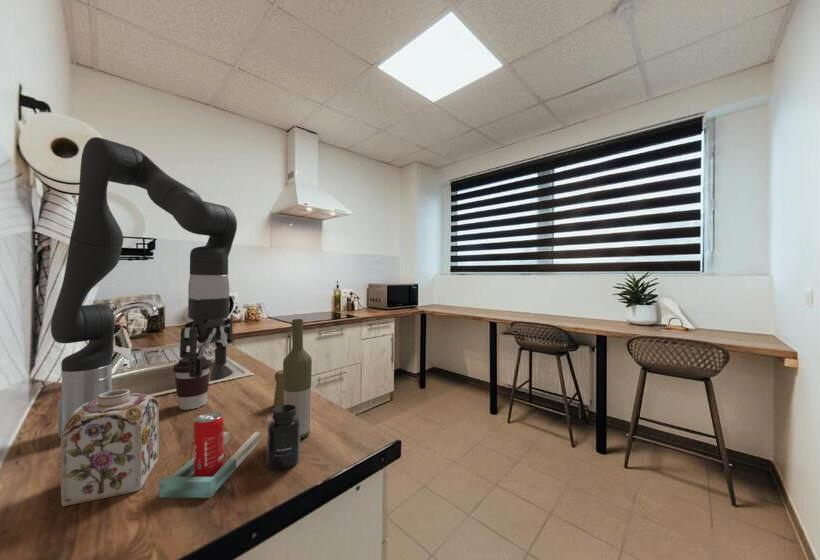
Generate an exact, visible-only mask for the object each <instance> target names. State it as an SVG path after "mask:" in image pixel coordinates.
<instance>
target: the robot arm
mask: <svg viewBox="0 0 820 560" xmlns="http://www.w3.org/2000/svg"><path fill="white" fill-rule="evenodd" d="M109 182H111V183H115V184H121V185H127V186H135V187H138V188H141V189H143V190H146V191H147V196H148V197H149V199H150V200H151V202H153V204H154V205H156V206H158V207H159V208H160V209H162V210H164V212H165V213H168V214H170V215H171V216H172V217H173V219H174V220H175V221H176V222H177V224H178V225H179V226H180V227H181V228H182V229H184V230H185V231H187V232H189V233H190V234H191V233H192V234H194V235H199V236H207V237H209V238H208V239H207V242H206V244H205V245H203V246H197V247H194V248H192V249H191V251H190V253H189V279H188V284H187V285H188V286H187V287H188V289H187V292H188V293H187V294H188V295H187V298H188V299H187V302H188V306H187V312H188V313H187V317H188V318H189V319H190V320H193V324H192V327H182V328H181V329H180V343H179V344H180V346H179V358H180V359H182V358H186V359H188V360H189V376H190V377H195V378H198V377H200V376H202V359H201V358H202V356H204V353H205V351H206V350H207V349H209V346H210V345H211V344H213V345H214V347H215V349H214V365H216V366H224V365H226V364H227V349H228V348H229V345H230V344H233V341H234V338H233V337H234V336H233V335H234V333H233V318H228V317H229V316H230V282H229V281H230V280H229V256H230V252H231V250H232V247H233V244H234V243H233V242H234V240H235V236H236V233H237V229H238V221H237V217H236V215H235V212H234V211H233V210H232V209H231V208H230V207H228V206H226V205H222V204H217V203H214V202H209V201H205V200H203V199H202V197H201V195H199V194H198V193H197V192H196V191H195V190H193V189H191V188H190V187H188V186H187V185H186V184H184V183H181V182H180V181H178V180H176V179H174V178H173V177H172V176H170V175H169V174H167V173H166V172H165V171H164V170H162V169H161V168H160V167H159V166H158V165H157V164H156V163H154V161H152V160H151V159H150V158H149V157H148V156H147V155H146V154H144V153H143V152H142V151H140V150H139V149H137V148H135V147H132V146H129V145H125V144H123V143H119V142H116V141H112V140H109V139H106V138H103V137H96V136H95V137H91V138H89V139H88V140H87V141H86V143H85V144H84V147H83V150H82V153H81V158H80V172H79V186H78V199H77V206H76V212H75V216H74V221H73V227H72V230H71V233H70V239H69V244H68V249H67V258H66V263H65V269H64V274H63V279H62V283H61V287H60V291H59V294H58V296H57V299H56V302H55V306H54V309H53V312H52V317H51V320H50V321H51V322H50V333H51V337H52V338H53V340H54V341H55V342H56V343H59V344H74V343H80V342H87V341H88V343H87V344H86V346H84V347H83V348H81V349H80V350H78V351H76V352H73V353H71V354H70V355H68V356H65V357H64V358H63V359H62V360H61V365H60V367H61V398H60V399H58V401H57V420H58V421H57V424H58V426H57V429H58V430H57V431H58V433H57V434H58V436H57V437H58V438H61V435H60V434H61V433H62V431H63V430H64V427H65V425H66V423H67V422H68V420H69V417H70V416H71V414H72V413H73V412H74V411H75V410H76V409H77V408H79V407H80V406H82V405H83V404H85V403H88V402H91V401H94V400H96V399H98V396H99V395H100V394H102V393H105V392H109V391H113V388H112V387H113V385H112V383H113V379H112V377H113V376H112V375H113V372H112V371H113V370H112V365H113V364H112V358H113V357H112V356H113V354H114V342H115V341H114V339H115V336H114V335H115V325H116V324H115V315H114V310H112V308H111V307H110V306H109V305H107V304H103V303H102V304H99V303H98V304H87V305H84V302H85V300H86V298H87V296H88V294H90V291H92V289H93V288H94V287H95V286H96V285H98V284H99V282H101V281H102V280H103V279H104V278H105V277H107V275H109V274H110V273H111V272H112V271H113V270H114V269H115V268H116V267H117V265H118V264H119V261H120V259H121V254H122V248H123V244H124V234H123V232H122V228H121V227H120V225H119V223H118V222H117V220H116V218H115V216H114V214H113V212H112V211H111V208H110V207H109V203H108V196H107V195H108V194H107V192H108V184H109ZM188 347H189V349H188ZM187 349H188V350H187Z"/></svg>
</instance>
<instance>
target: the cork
mask: <svg viewBox="0 0 820 560" xmlns="http://www.w3.org/2000/svg"><path fill="white" fill-rule="evenodd" d="M274 380H275V382H276V383H275V389H274V395H273V396H274V398H273V404H272V406H273V408H274V407H275V408H276V407H278V406H281V405H284V382H283V369H281V370H278V371H276V372H275V373H274Z"/></svg>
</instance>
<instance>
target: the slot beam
mask: <svg viewBox="0 0 820 560" xmlns="http://www.w3.org/2000/svg"><path fill="white" fill-rule="evenodd" d="M230 434H231V433H230V431H223V437H224V445H225V444H227V443H228V442H229V441H230V439H231V438H230ZM260 442H262V431H254V433H253V434H252V435H251V436H250V437H248V439H247V440H245V442H244V443H243V444H242V445H241V446H240V447H239V448H238V449H237V450H236V452H235V453H233V454H232V456H231V457H230V458H228V460H227V461H226V462H224V465H223V466H222V467H221V468H220V469H219V470H218V471H217V473H216V474H215V475H214V476H213V477H197V476H192V475H193V474H195V473H194V457H192V459H190V460H189V461H187V463H185V465H183V466H182V467H180V468H179V470H177V471H176V472H175V473H174V474H173V475H172V476H165V477H163V478H162V479H161V480H160V481H159V482H158V484H159V485H158V486H159V489H158V490H159V491H158V493H159V495H158V496H159V499H161V498H163V499H164V498H165V499H166V498H167V499H168V498H175V499H176V498H179V499H182V498H183V499H184V498H185V499H187V498H189V499H191V498H192V499H193V498H198V499H200V498H201V499H206V498H207V499H208V498H209V499H211V498H212V497H213V496H214V495H215V493H217V491H218V490H219V489H220V488H221V487H222V485H223V484H224V483H225V482H226V481H227V480H228V478H229V477H230V476H231V475H232V474H233V473H234V472H235V470H236V469H237V468H238V467H240V465H241V464H242V463H243V462H244V460H245V459H246V458H247V457H248V456H249V455H250V453H252V451H253V450H254V449H255V448H256V447H257V445H258V444H259V443H260Z"/></svg>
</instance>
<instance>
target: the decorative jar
mask: <svg viewBox="0 0 820 560" xmlns="http://www.w3.org/2000/svg"><path fill="white" fill-rule="evenodd" d="M130 391H131V390H129V389H116V390H113V389H112V391H109V392H105V393H102V394H100V395H99V396H98V399H96V400H94V401H91V402H88V403H85V404H83V405H82V406H80V407H79V408H77V409H76V410H75V411H74V412H73V413H72V414H71V416H70V417H69V420H68V422H67V423H66V425H65V427H64V430H63V431H62V433H61V434H60V435H61V437H60V500H61V501H60V502H61V507H67V506H73V505H77V504H83V503H84V504H85V503H88V502H89V503H90V502H93V501H97V500H103V499H107V498H112V497H116V496H121V495H126V494H131V493H135V492H136V493H137V492H140V491H141V489H142V488H143V486H144V485H145V483H146V481H147V479H148V477H149V476H150V474H151V472H152V471H153V469H154V467H155V466H156V464H157V463H158V461H159V460H160V459H159V453H160V451H159V450H160V419H159V417H160V414H159V413H160V411H159V404H160V402H159V401H158V400H157V399H156V398H155V397H154V396H153V395H149V394H146V393H142V392H141V393H140V392H136V393H131V392H130Z"/></svg>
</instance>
